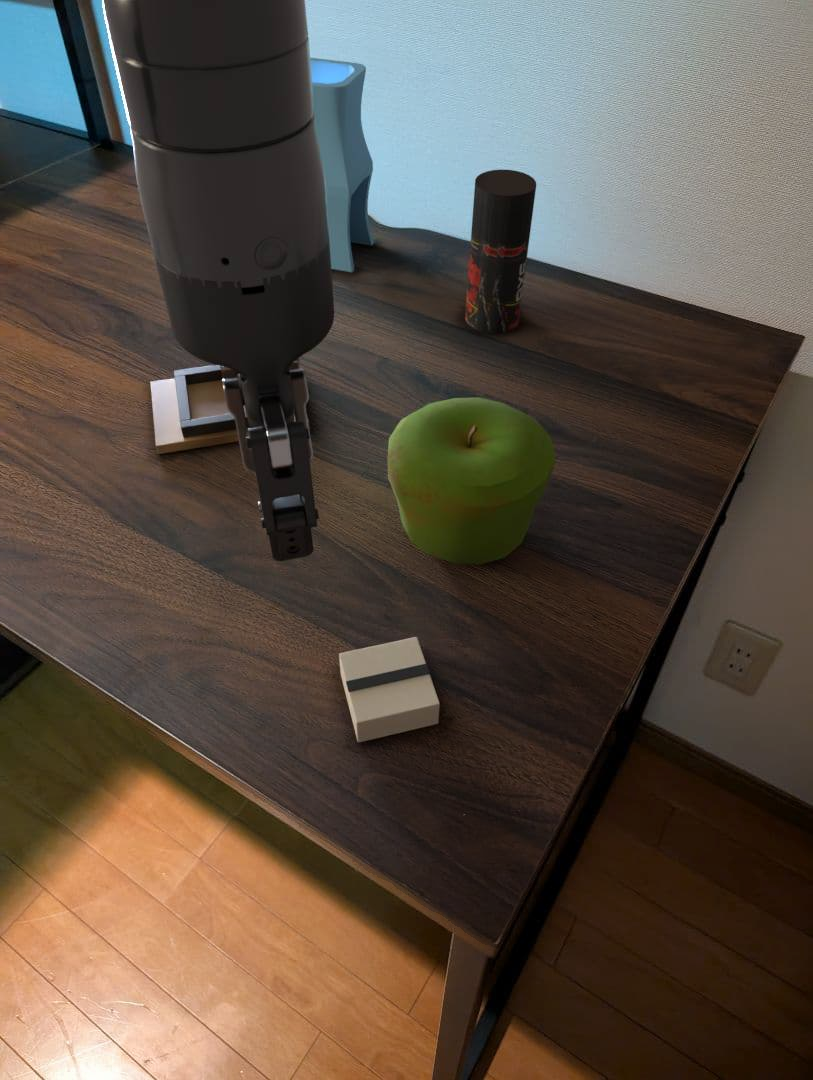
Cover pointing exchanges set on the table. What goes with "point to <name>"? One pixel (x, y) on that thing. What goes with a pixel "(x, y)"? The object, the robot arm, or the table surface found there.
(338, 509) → the table surface
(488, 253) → the deodorant
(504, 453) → the apple
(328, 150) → the vase
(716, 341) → the table surface
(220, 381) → the base pad
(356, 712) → the ivory pad
